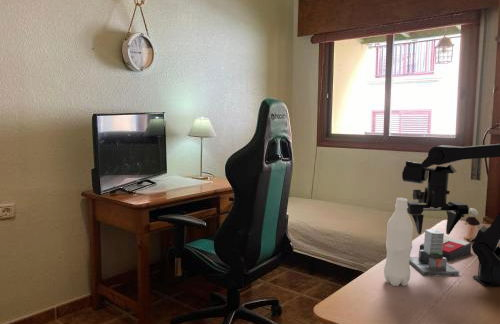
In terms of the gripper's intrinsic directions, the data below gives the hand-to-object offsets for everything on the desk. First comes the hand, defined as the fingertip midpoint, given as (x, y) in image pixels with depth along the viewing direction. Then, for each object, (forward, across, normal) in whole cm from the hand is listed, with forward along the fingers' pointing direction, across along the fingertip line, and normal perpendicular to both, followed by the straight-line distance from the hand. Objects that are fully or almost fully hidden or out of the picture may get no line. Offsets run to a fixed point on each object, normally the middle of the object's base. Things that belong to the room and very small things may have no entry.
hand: (433, 234), depth 130 cm
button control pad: (+12, -12, -14) cm, 22 cm away
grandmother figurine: (+11, -29, -27) cm, 41 cm away
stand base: (+11, 0, 0) cm, 11 cm away
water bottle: (+11, +16, +11) cm, 22 cm away
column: (+6, 0, 0) cm, 6 cm away
